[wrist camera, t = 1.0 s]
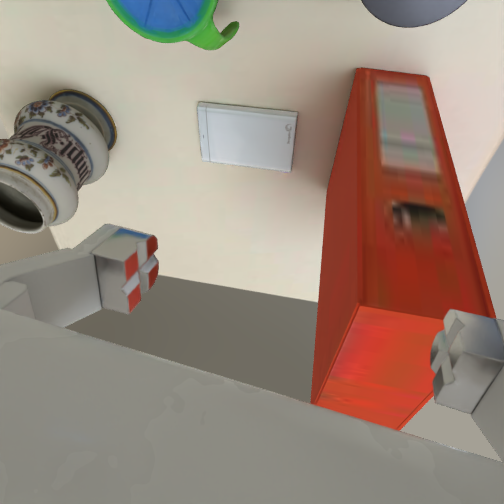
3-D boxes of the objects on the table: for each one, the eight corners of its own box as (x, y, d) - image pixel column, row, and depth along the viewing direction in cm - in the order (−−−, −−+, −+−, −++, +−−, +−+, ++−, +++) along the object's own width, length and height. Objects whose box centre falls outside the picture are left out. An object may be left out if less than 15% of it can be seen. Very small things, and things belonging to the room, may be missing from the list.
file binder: (431, 76, 43) (499, 331, 22) (384, 198, 56) (398, 434, 35) (356, 66, 44) (351, 304, 23) (326, 190, 57) (305, 415, 35)
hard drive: (296, 117, 48) (196, 107, 49) (291, 173, 54) (201, 163, 55) (298, 110, 49) (199, 100, 50) (292, 166, 55) (204, 156, 56)
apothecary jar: (61, 157, 61) (-12, 240, 49) (24, 79, 53) (-75, 157, 41) (134, 162, 59) (77, 249, 47) (109, 82, 51) (30, 164, 39)
